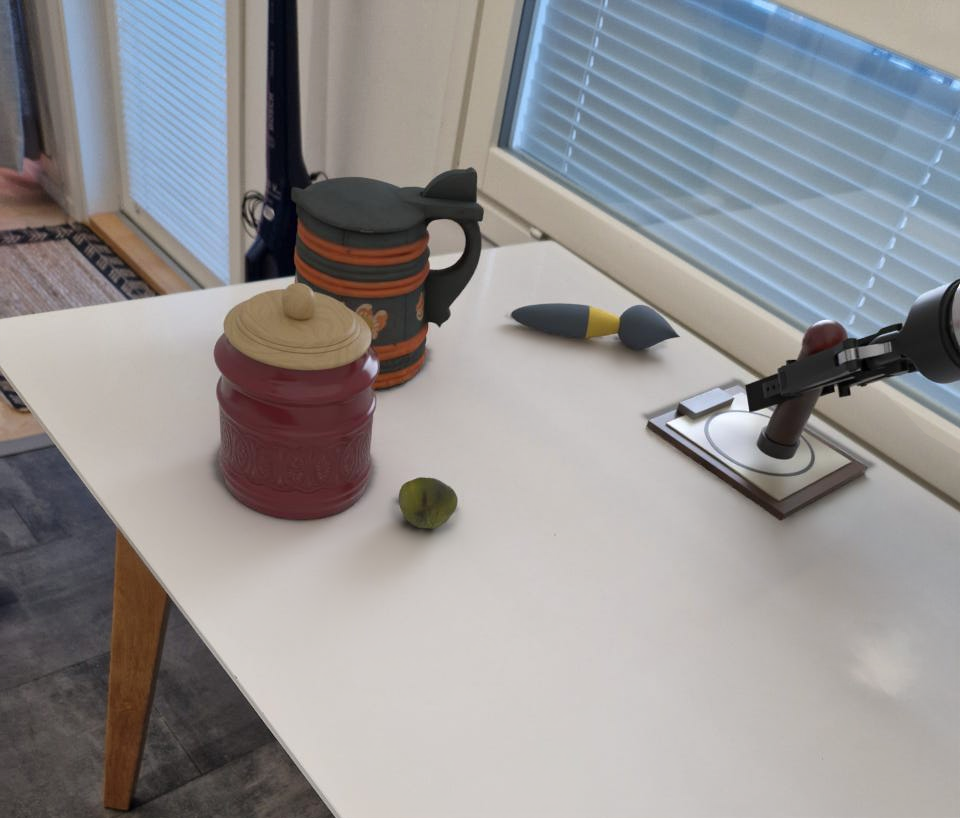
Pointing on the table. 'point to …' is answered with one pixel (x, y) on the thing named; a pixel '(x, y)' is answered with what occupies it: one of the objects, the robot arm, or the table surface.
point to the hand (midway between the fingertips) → (766, 396)
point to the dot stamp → (793, 414)
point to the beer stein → (387, 257)
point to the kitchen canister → (295, 403)
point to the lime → (427, 502)
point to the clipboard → (754, 452)
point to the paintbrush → (598, 323)
